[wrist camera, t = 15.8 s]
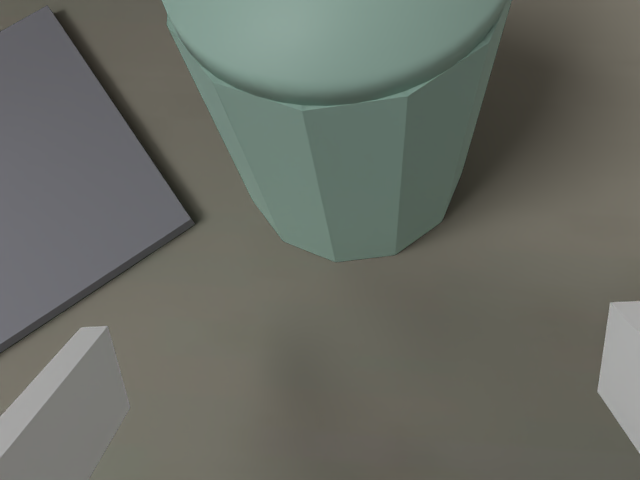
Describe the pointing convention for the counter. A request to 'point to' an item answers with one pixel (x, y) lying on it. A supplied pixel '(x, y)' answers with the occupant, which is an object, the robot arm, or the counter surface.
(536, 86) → the counter surface
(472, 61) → the faceted lidded jar
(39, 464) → the robot arm
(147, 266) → the counter surface
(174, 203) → the mat
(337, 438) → the counter surface
